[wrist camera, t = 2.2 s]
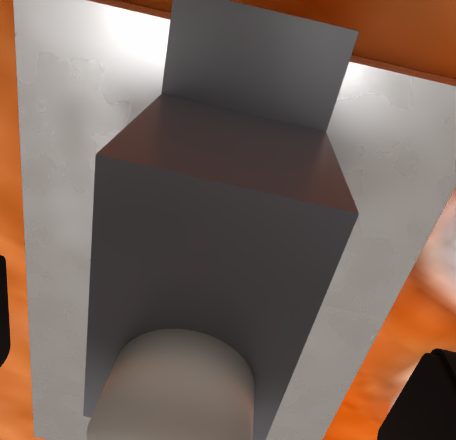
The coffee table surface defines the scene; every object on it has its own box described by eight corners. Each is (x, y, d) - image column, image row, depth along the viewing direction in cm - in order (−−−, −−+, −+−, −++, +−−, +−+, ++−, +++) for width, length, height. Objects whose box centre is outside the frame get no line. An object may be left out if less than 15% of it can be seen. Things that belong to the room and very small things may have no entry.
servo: (196, -11, 13) (47, -20, 4) (339, 22, 13) (472, 79, 4) (152, 290, 18) (54, 537, 10) (250, 312, 19) (234, 575, 10)
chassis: (49, -16, 15) (12, -17, 13) (469, 82, 15) (502, 97, 13) (53, 400, 27) (34, 436, 25) (292, 451, 27) (294, 491, 25)
